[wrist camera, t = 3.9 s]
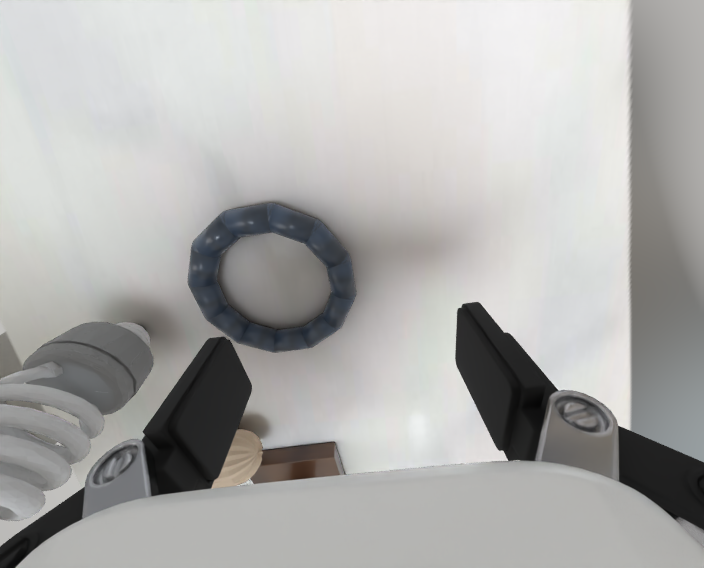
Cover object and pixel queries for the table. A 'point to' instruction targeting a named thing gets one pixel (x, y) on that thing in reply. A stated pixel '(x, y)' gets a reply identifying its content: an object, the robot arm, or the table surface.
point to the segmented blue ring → (288, 225)
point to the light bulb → (64, 407)
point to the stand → (298, 463)
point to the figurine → (240, 460)
